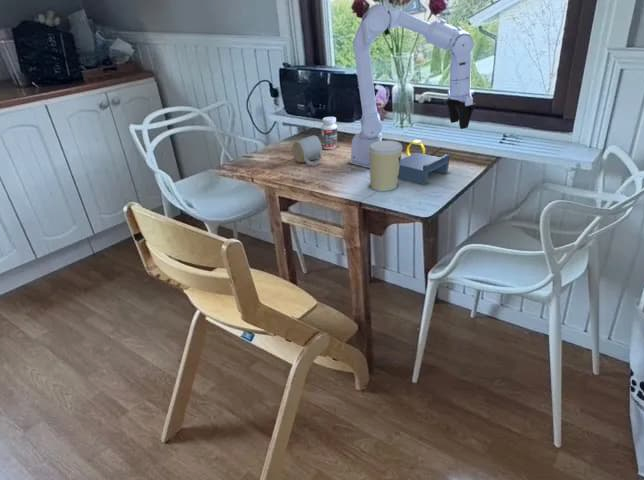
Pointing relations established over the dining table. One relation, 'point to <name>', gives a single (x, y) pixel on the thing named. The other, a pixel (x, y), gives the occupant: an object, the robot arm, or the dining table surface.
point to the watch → (416, 142)
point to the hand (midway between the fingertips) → (459, 125)
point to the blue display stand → (422, 166)
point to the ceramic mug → (308, 150)
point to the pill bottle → (329, 133)
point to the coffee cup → (384, 164)
